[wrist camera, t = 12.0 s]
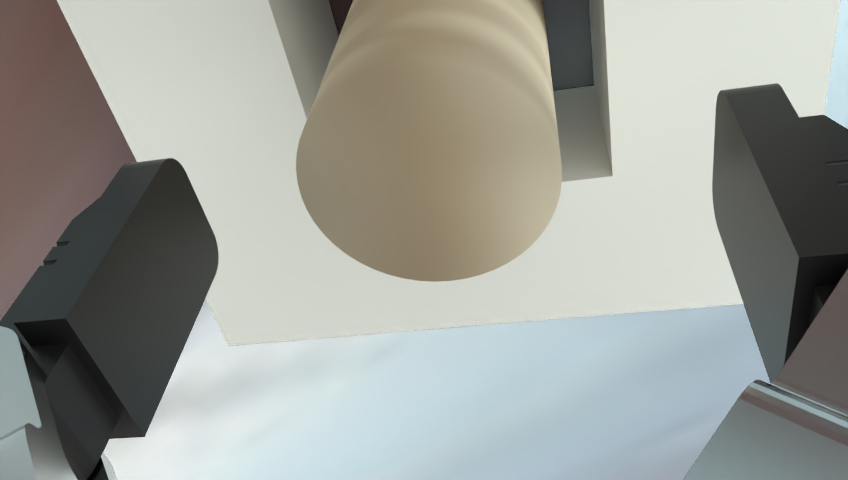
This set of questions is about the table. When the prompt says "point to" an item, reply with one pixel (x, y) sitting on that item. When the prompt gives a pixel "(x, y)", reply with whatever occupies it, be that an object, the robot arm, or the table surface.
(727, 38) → the socket
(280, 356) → the table surface
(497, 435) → the table surface
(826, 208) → the robot arm
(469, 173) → the cream ribbed cylinder
